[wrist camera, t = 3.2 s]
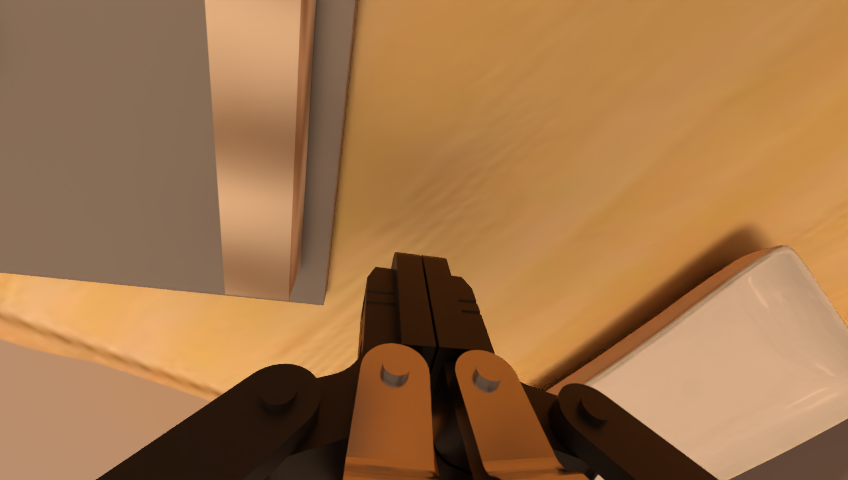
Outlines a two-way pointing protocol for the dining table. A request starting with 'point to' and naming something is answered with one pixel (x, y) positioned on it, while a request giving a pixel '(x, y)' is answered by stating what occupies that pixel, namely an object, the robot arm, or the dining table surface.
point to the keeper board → (141, 144)
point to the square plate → (734, 365)
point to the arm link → (261, 137)
